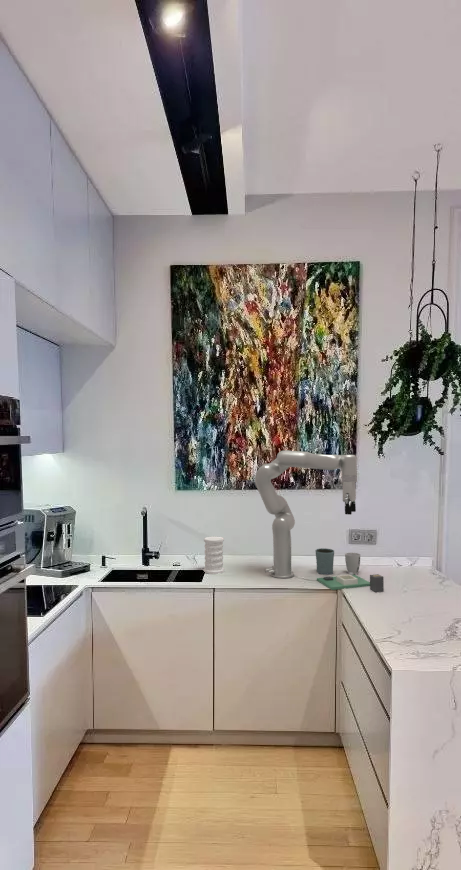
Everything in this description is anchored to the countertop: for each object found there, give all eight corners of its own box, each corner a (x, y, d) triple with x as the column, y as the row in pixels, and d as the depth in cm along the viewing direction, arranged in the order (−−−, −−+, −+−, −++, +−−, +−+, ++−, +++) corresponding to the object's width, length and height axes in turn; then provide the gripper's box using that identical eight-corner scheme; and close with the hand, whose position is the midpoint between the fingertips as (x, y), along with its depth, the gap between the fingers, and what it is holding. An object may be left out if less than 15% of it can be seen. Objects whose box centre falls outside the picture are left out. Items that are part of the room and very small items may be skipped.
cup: (361, 575, 252) (360, 556, 252) (345, 574, 254) (345, 555, 254) (360, 571, 260) (359, 552, 260) (344, 570, 262) (344, 552, 262)
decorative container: (199, 571, 260) (198, 538, 260) (213, 567, 269) (213, 535, 269) (214, 575, 253) (214, 541, 253) (228, 570, 262) (228, 538, 262)
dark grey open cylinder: (328, 569, 264) (328, 547, 264) (338, 574, 255) (338, 551, 255) (312, 571, 261) (312, 549, 261) (321, 575, 251) (321, 553, 251)
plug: (375, 592, 224) (375, 577, 224) (369, 589, 228) (369, 574, 228) (384, 591, 225) (384, 576, 225) (379, 588, 230) (379, 573, 230)
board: (331, 589, 228) (331, 582, 228) (316, 580, 243) (316, 573, 243) (372, 585, 234) (372, 578, 234) (354, 576, 249) (354, 569, 249)
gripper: (345, 477, 250) (346, 510, 250) (337, 480, 235) (338, 515, 235) (360, 477, 247) (361, 510, 247) (353, 480, 232) (354, 515, 231)
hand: (350, 512), depth 241 cm, fingers open, 9 cm apart
